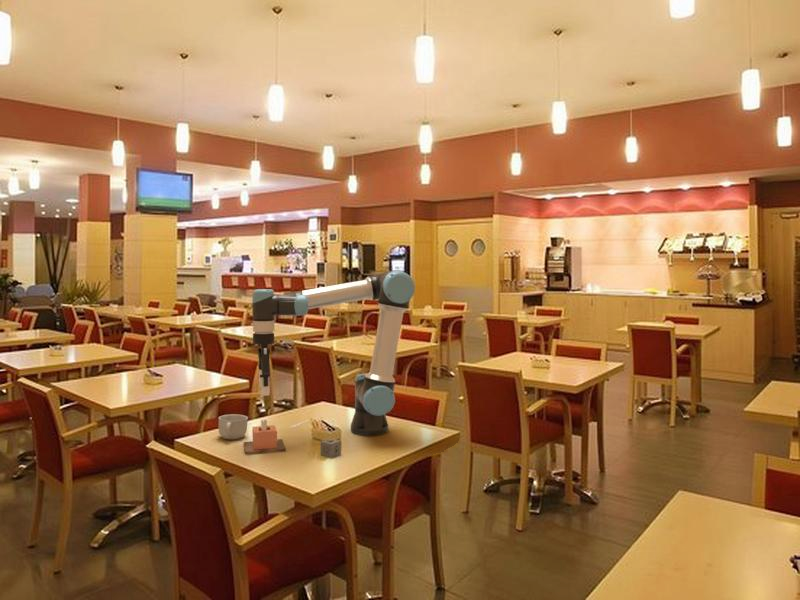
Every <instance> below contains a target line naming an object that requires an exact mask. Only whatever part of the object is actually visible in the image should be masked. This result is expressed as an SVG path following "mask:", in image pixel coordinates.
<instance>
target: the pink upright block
mask: <svg viewBox="0 0 800 600" xmlns="http://www.w3.org/2000/svg"><path fill="white" fill-rule="evenodd" d="M251 430H252V432H251V433H252V441H253V448H254V449H266V448H277V439H278V431H277V430H278V429H277V427H276V425H275V424H272V425H267V430H263V431H261V425H258V426H252V428H251Z"/></svg>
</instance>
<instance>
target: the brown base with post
mask: <svg viewBox="0 0 800 600" xmlns="http://www.w3.org/2000/svg"><path fill="white" fill-rule="evenodd" d="M260 426H261V431H263V430H267V426H268V420H266V419H261V421H260ZM286 449H287V447H286V446H285V443H284V440H283V439H282V438H277V448H266V449H254V448H253V440H252V441H251V440H250V441H243V451H244V455H245V456H249V455H260V454H270V453H271V454H272V453H282V452H286V451H287V450H286Z"/></svg>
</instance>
